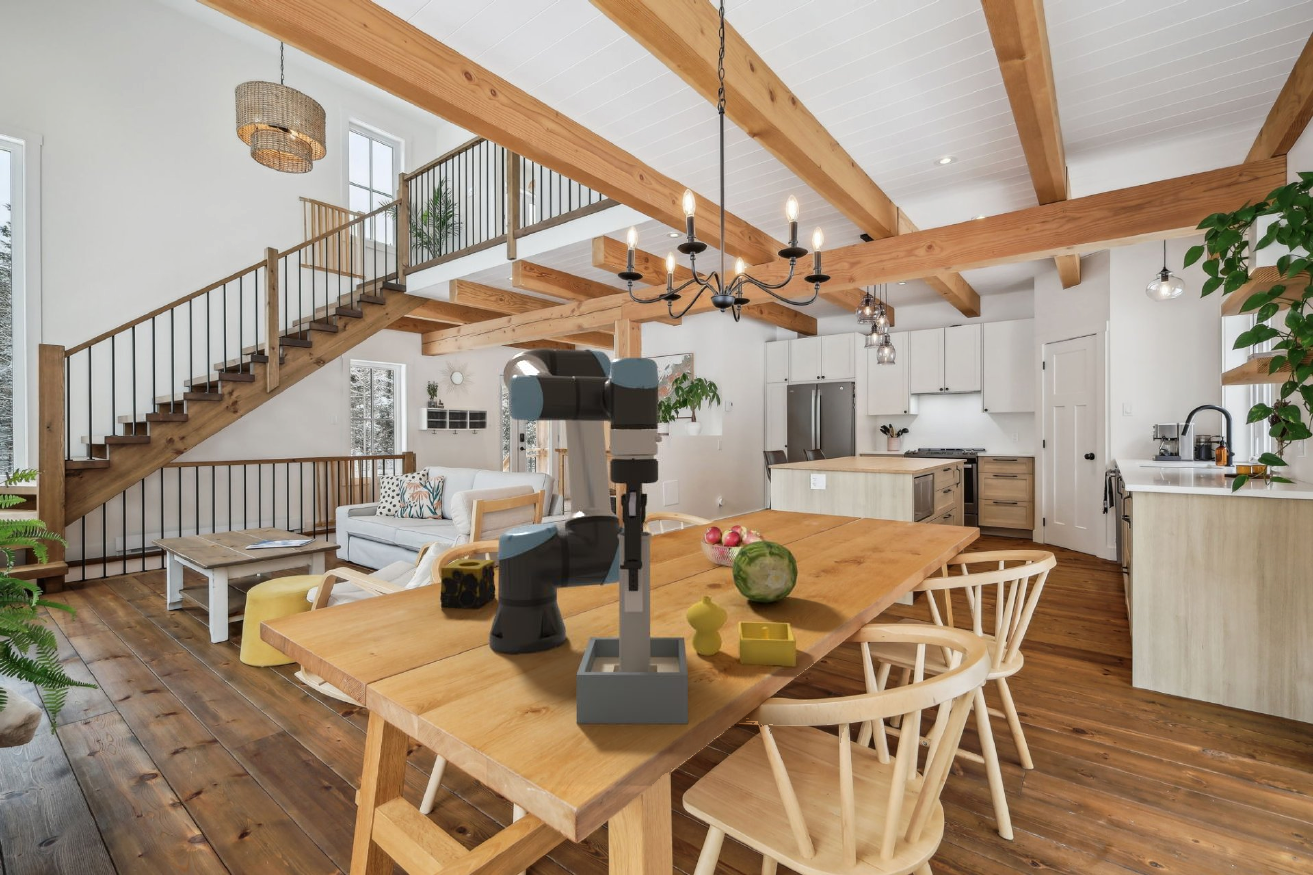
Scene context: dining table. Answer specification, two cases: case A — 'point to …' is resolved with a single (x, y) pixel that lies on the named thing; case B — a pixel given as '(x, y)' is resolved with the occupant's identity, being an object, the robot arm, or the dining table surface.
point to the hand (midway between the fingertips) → (634, 605)
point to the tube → (635, 616)
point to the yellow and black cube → (467, 584)
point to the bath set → (742, 636)
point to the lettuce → (764, 571)
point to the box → (633, 685)
